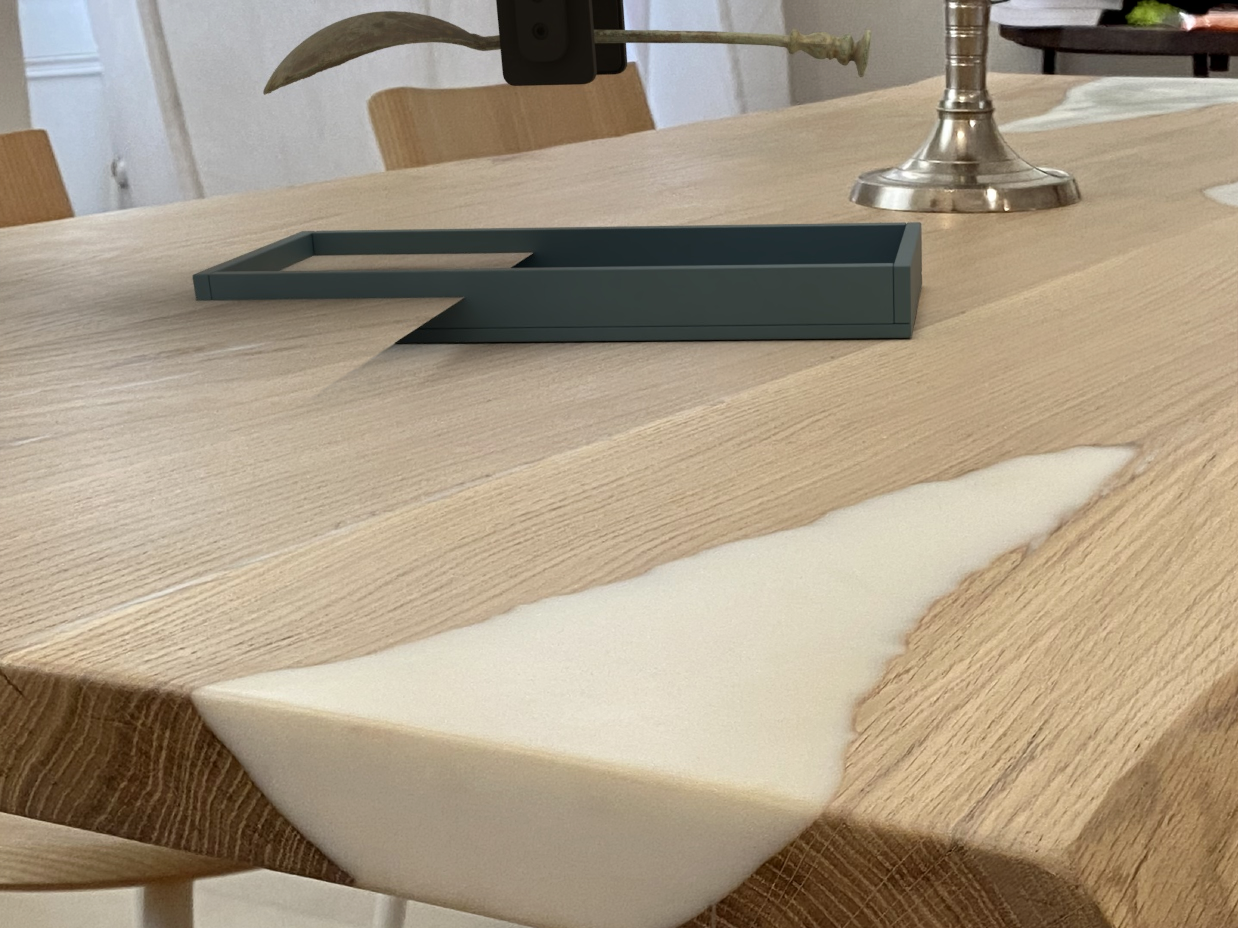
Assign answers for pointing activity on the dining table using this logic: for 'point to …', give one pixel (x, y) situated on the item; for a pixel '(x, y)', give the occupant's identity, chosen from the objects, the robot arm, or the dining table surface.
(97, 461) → the dining table surface
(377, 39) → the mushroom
